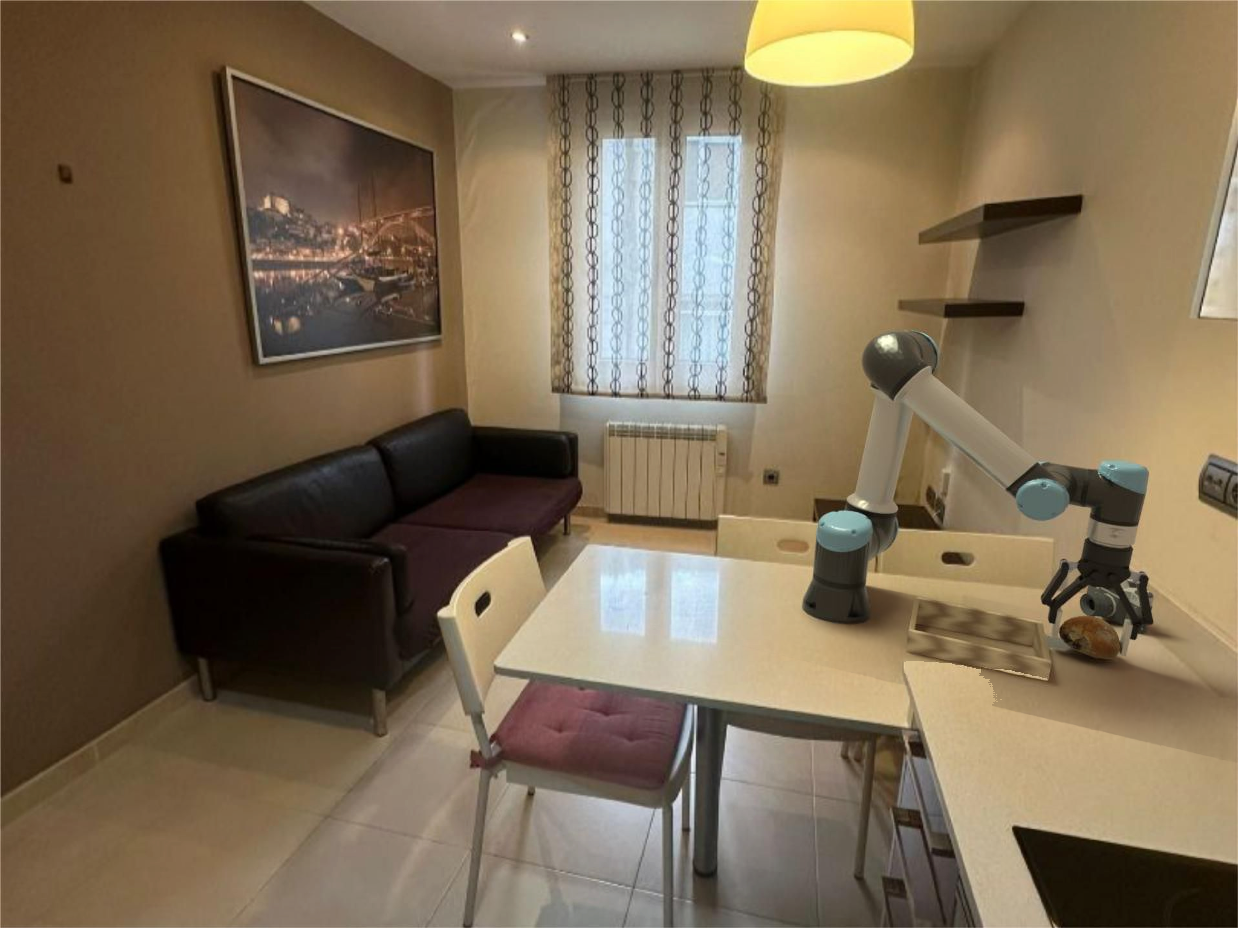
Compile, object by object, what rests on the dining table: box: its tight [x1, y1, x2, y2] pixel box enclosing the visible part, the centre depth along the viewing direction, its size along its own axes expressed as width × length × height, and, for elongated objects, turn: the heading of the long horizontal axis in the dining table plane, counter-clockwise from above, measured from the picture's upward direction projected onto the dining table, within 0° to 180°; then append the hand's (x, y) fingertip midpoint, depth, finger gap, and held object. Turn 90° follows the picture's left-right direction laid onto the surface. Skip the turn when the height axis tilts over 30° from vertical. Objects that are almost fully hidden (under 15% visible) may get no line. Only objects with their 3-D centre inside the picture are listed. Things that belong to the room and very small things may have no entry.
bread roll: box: [1058, 615, 1121, 660], centre depth 128 cm, size 10×10×8 cm
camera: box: [1079, 578, 1155, 634], centre depth 146 cm, size 16×10×10 cm, turn 1°
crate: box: [905, 595, 1053, 680], centre depth 130 cm, size 24×18×6 cm
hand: (1087, 645), depth 128 cm, fingers closed on bread roll, 11 cm apart
